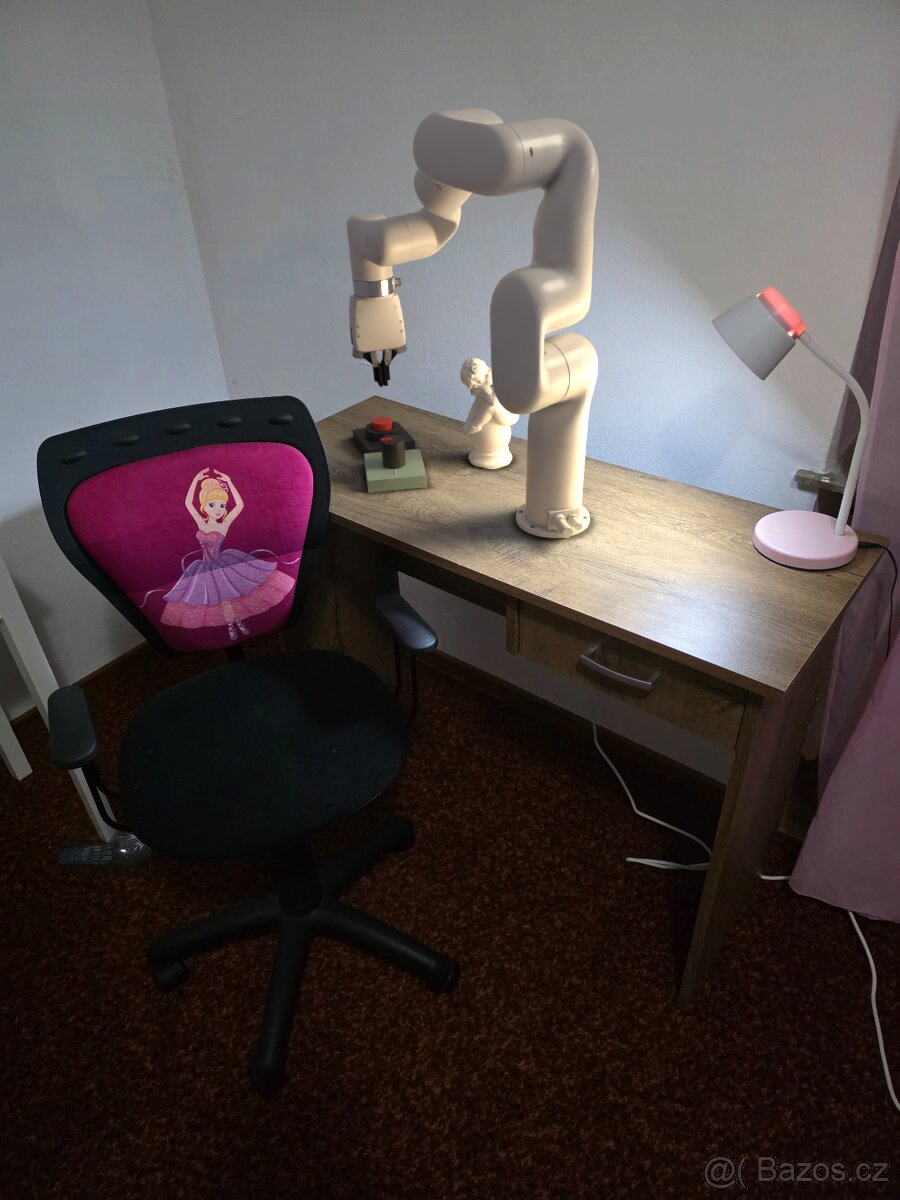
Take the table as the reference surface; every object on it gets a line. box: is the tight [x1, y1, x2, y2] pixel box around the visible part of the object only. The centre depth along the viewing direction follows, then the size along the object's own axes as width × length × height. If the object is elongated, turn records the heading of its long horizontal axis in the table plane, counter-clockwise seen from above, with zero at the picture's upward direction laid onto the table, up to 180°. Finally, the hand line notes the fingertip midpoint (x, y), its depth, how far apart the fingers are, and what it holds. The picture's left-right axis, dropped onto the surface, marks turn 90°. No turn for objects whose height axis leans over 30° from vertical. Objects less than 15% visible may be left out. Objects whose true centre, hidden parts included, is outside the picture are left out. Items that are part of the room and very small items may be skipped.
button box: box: [352, 420, 416, 455], centre depth 165 cm, size 11×10×4 cm
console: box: [363, 448, 428, 493], centre depth 153 cm, size 12×11×3 cm
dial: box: [381, 435, 406, 469], centre depth 151 cm, size 4×4×5 cm
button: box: [371, 416, 393, 431], centre depth 163 cm, size 4×4×2 cm
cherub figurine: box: [459, 356, 520, 470], centre depth 154 cm, size 12×12×22 cm
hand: (382, 384), depth 158 cm, fingers closed
